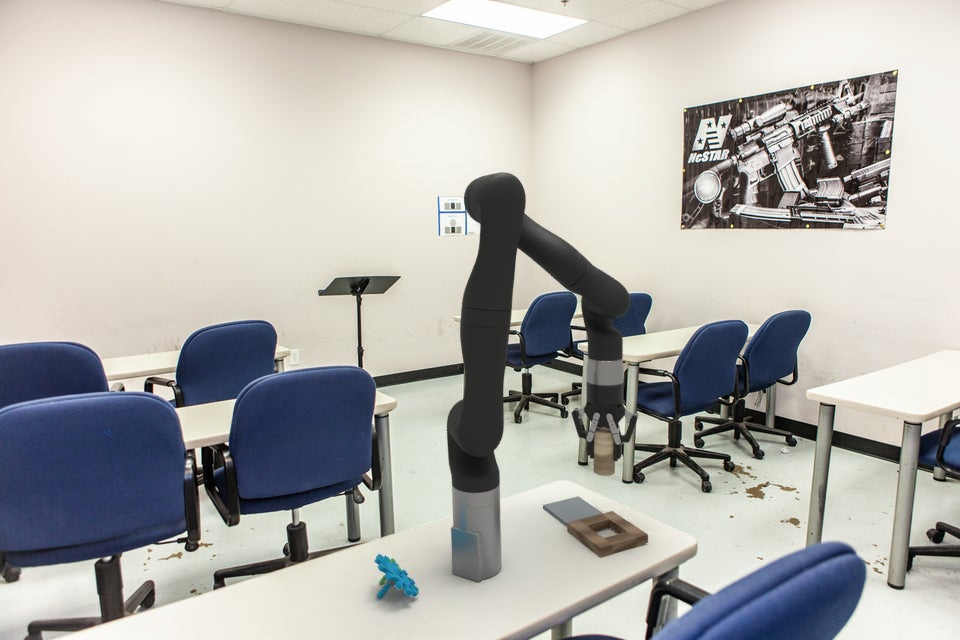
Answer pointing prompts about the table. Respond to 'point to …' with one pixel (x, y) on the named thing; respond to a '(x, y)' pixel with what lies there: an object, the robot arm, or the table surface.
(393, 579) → the blue branched plastic piece
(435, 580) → the table surface
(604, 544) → the pocket block
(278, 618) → the table surface
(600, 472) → the peg
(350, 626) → the table surface
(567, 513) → the mat
